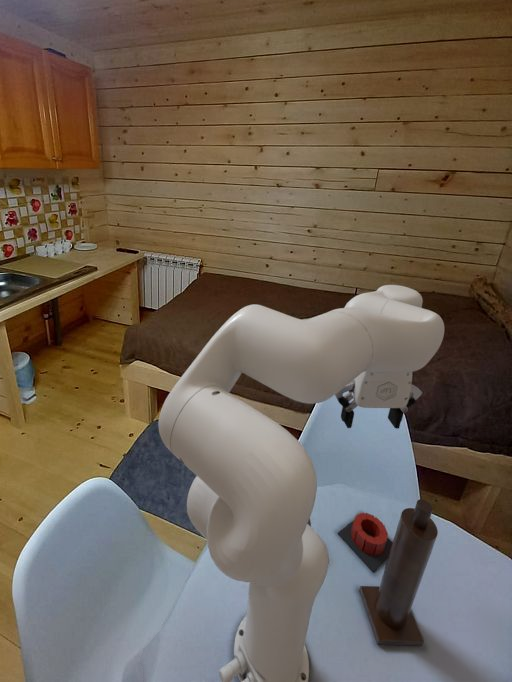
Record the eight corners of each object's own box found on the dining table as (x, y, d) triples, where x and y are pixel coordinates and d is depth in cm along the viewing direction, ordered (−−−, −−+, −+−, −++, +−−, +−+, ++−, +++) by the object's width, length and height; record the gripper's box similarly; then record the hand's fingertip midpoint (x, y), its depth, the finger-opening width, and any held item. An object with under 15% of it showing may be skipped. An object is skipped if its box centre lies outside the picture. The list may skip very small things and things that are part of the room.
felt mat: (372, 572, 71) (373, 571, 71) (337, 533, 78) (337, 532, 78) (398, 549, 75) (398, 547, 75) (362, 514, 83) (362, 513, 83)
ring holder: (377, 644, 60) (413, 530, 51) (358, 590, 68) (387, 482, 58) (422, 645, 60) (467, 532, 51) (398, 591, 68) (434, 483, 58)
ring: (372, 562, 72) (375, 551, 71) (344, 533, 78) (347, 522, 77) (391, 545, 76) (394, 533, 75) (363, 518, 81) (365, 507, 80)
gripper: (348, 361, 60) (334, 437, 66) (445, 362, 61) (422, 437, 66) (333, 339, 67) (321, 410, 73) (419, 340, 68) (401, 410, 73)
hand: (369, 423), depth 70 cm, fingers open, 9 cm apart
